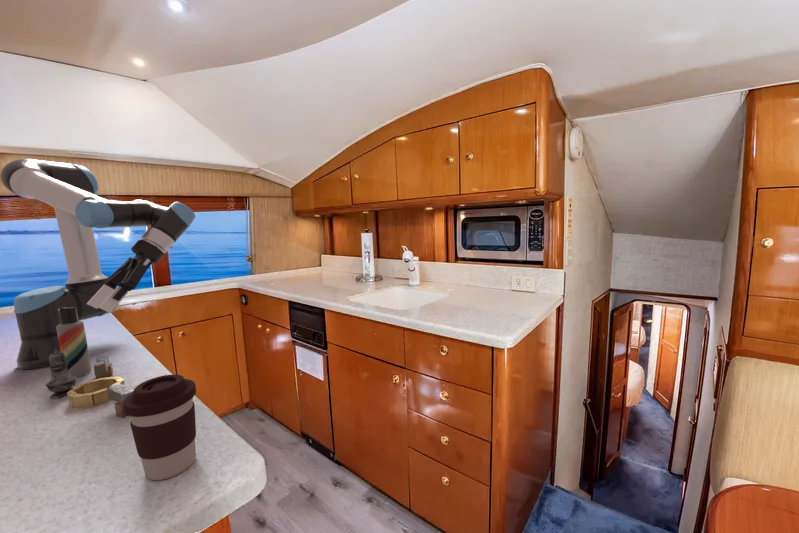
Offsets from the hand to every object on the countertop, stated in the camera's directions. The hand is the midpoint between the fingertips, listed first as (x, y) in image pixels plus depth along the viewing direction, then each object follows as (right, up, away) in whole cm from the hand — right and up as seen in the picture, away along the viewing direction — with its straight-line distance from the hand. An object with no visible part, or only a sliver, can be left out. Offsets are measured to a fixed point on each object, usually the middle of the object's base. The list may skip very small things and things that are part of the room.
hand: (97, 308), depth 93 cm
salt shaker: (-4, -21, -5) cm, 22 cm away
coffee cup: (+42, -23, -34) cm, 59 cm away
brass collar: (+7, -21, -8) cm, 23 cm away
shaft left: (-1, -20, +3) cm, 20 cm away
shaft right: (+19, -21, -15) cm, 32 cm away
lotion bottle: (-12, -20, +7) cm, 24 cm away
